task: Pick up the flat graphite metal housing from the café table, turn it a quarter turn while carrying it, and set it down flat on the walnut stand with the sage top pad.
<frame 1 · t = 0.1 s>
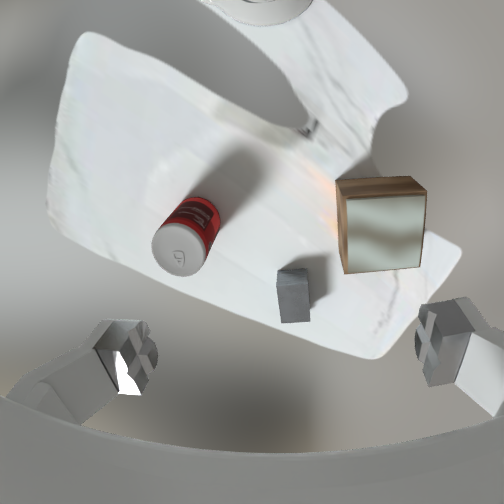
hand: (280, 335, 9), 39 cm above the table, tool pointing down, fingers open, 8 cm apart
stand: (374, 214, 47), on the table
housing: (294, 288, 55), on the table
canned food: (198, 218, 51), on the table
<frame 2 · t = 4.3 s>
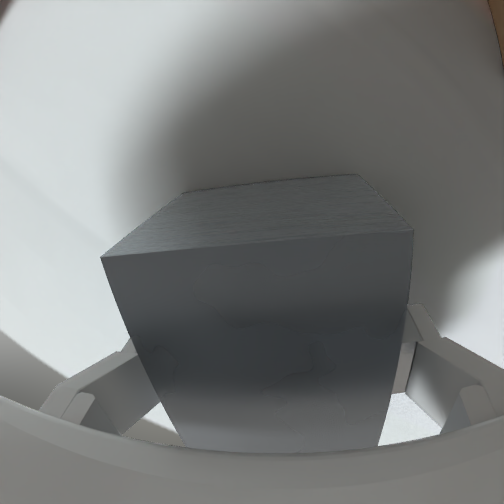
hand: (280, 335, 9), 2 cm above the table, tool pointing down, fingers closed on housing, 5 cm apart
housing: (283, 304, 10), on the table, touching gripper
when the fingers open (10 cm above the table, at t = 11.0 s): housing drops 1 cm, resting on stand.
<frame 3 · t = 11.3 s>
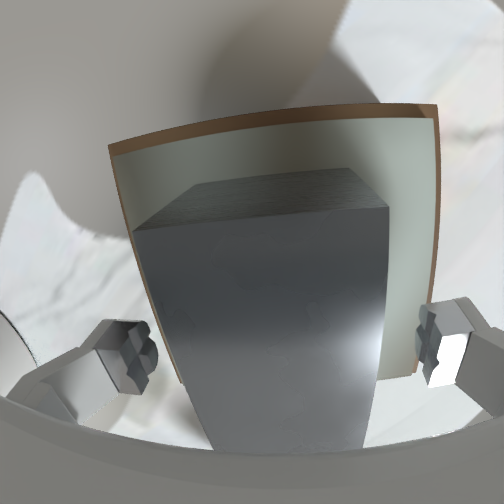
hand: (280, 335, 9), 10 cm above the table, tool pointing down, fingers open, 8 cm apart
stand: (290, 218, 18), on the table
housing: (284, 285, 11), point 8 cm above the table, touching stand
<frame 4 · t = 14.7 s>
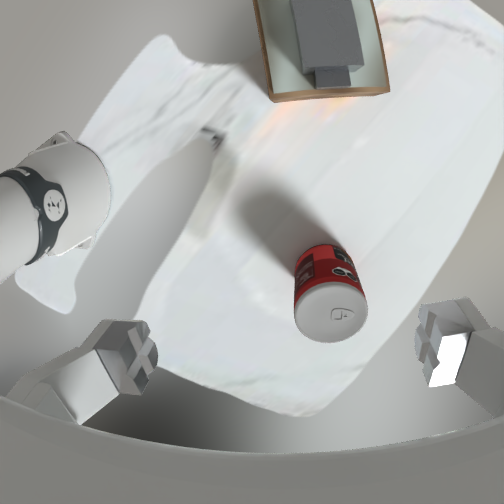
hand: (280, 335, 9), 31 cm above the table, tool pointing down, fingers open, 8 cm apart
stand: (317, 51, 31), on the table
housing: (322, 35, 24), point 8 cm above the table, touching stand
canned food: (324, 268, 42), on the table
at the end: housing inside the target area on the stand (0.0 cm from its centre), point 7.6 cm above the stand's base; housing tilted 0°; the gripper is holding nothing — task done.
